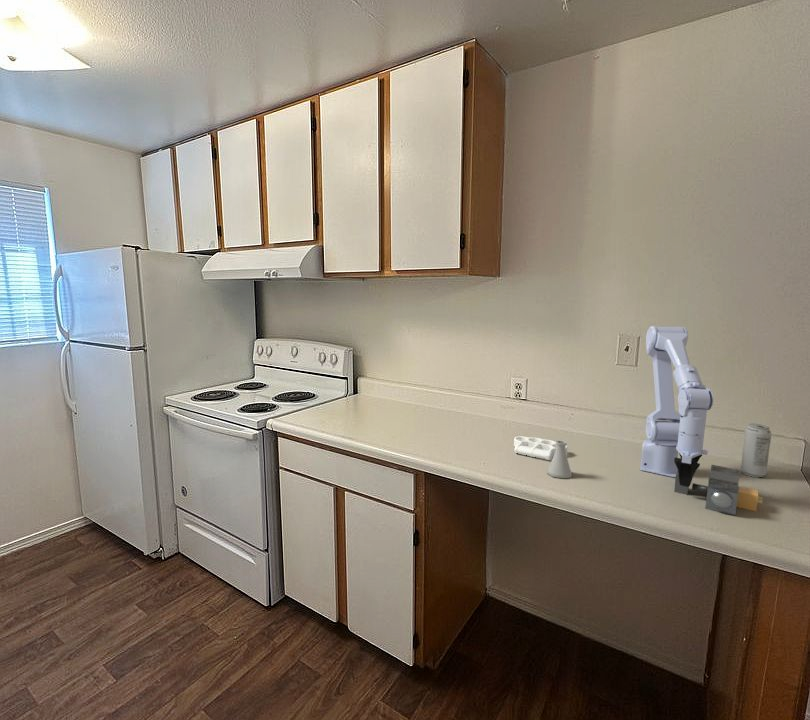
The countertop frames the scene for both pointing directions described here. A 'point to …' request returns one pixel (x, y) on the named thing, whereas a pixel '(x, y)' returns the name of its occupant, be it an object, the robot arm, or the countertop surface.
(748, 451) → the energy drink can
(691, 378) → the robot arm
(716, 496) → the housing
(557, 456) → the flask
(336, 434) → the countertop surface
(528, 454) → the white egg tray
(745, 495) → the bar with block ends
